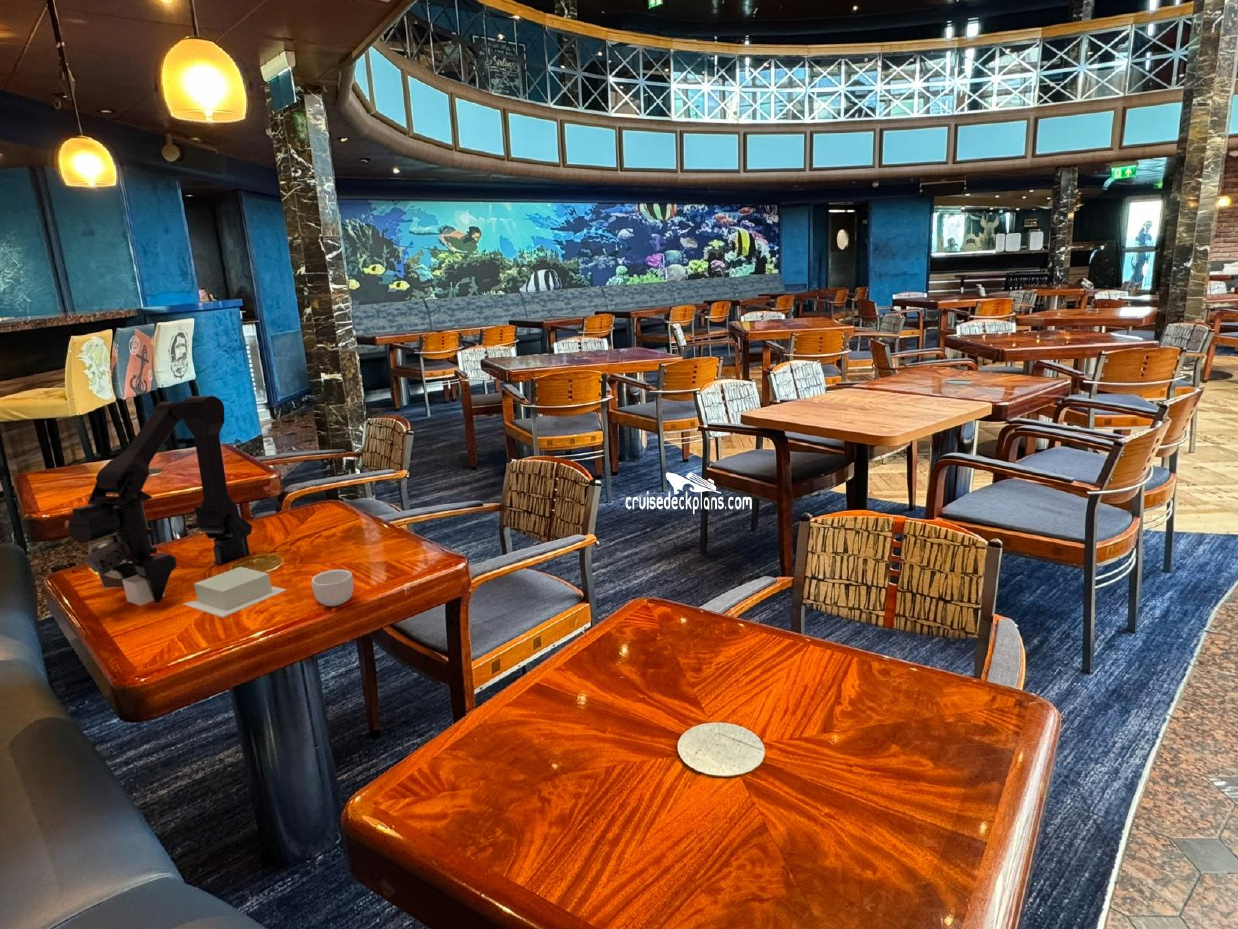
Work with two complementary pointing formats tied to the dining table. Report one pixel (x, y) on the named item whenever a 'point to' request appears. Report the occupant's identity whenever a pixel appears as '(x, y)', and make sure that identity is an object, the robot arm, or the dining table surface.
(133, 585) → the pink brick
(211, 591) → the base brick
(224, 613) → the base plate
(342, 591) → the teacup
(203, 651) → the dining table surface
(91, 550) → the food container
